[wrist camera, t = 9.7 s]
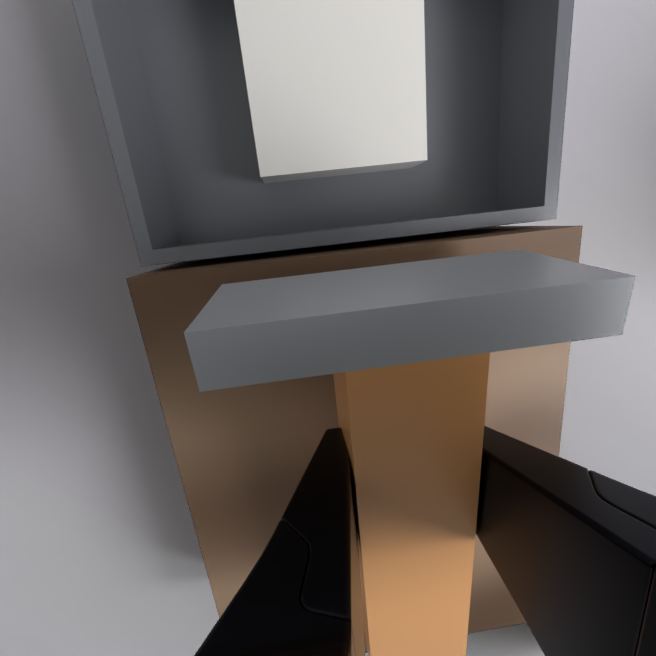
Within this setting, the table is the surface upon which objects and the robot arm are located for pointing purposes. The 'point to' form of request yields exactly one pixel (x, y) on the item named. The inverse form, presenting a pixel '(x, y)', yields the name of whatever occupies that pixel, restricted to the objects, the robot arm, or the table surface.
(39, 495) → the table surface
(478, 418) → the scraper
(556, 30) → the box
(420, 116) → the tile
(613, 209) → the table surface
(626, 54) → the table surface
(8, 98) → the table surface
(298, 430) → the tan block
